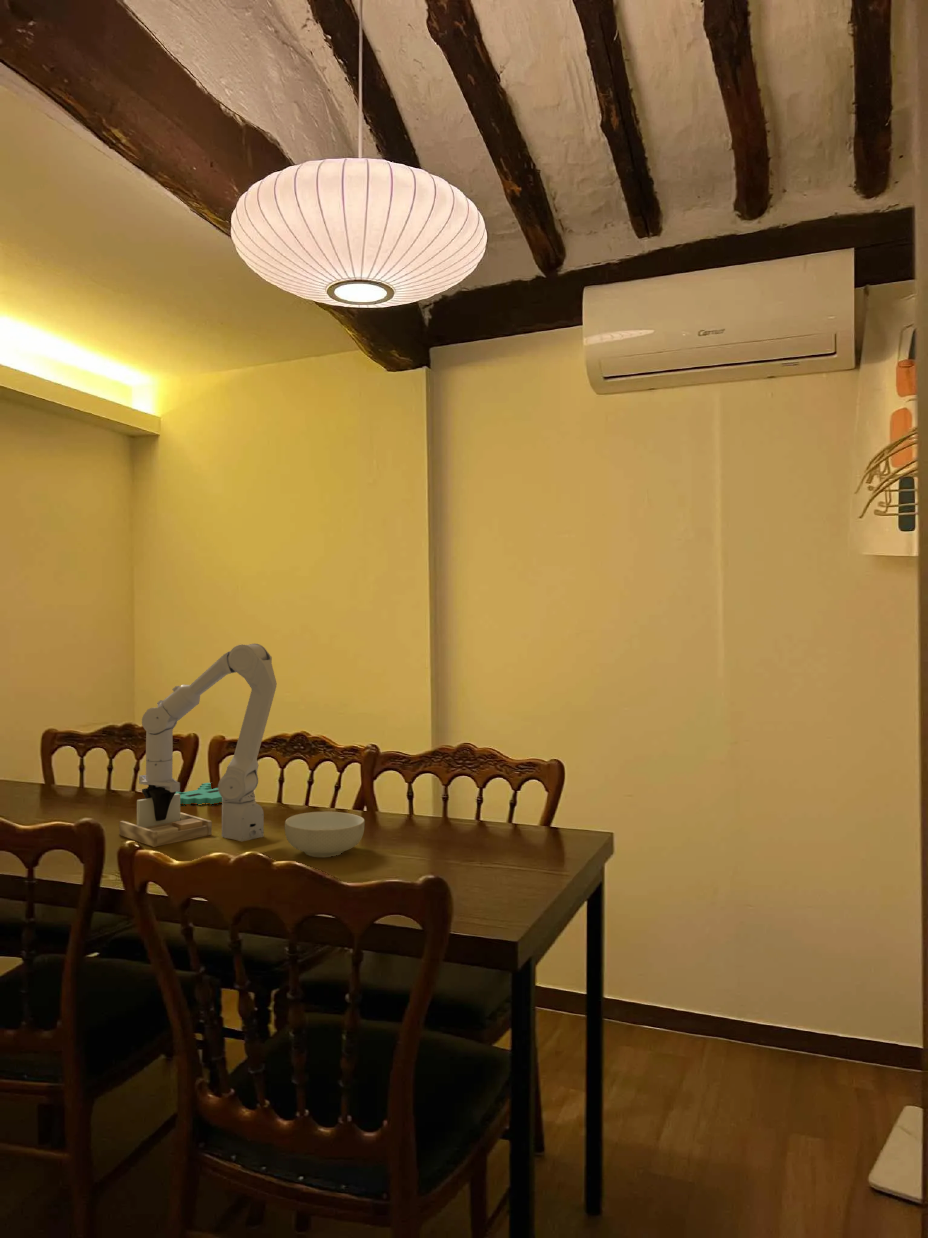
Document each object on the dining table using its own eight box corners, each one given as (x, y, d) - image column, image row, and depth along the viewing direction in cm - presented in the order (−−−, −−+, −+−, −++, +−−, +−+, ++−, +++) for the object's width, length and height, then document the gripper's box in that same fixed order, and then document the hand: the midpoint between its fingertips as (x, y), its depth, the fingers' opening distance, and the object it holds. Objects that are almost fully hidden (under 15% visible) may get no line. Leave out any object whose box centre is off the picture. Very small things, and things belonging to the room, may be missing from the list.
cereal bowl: (324, 868, 168) (325, 833, 168) (267, 855, 177) (268, 821, 177) (380, 850, 182) (380, 817, 182) (324, 838, 191) (325, 807, 191)
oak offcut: (202, 834, 190) (202, 821, 190) (181, 838, 186) (181, 825, 186) (192, 831, 192) (192, 818, 192) (171, 835, 188) (172, 822, 188)
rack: (211, 838, 190) (211, 821, 190) (153, 851, 179) (153, 832, 179) (176, 827, 200) (176, 811, 200) (119, 839, 189) (119, 821, 189)
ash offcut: (178, 839, 185) (178, 828, 185) (156, 844, 181) (156, 832, 181) (168, 836, 188) (168, 825, 188) (146, 840, 184) (146, 829, 184)
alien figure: (146, 801, 231) (189, 811, 219) (146, 793, 231) (190, 803, 219) (207, 790, 247) (251, 799, 235) (208, 782, 247) (251, 791, 235)
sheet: (180, 828, 195) (180, 794, 195) (139, 836, 187) (139, 801, 187) (177, 827, 196) (177, 793, 196) (136, 836, 188) (136, 800, 188)
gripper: (126, 758, 193) (126, 817, 193) (159, 765, 184) (159, 827, 184) (155, 754, 199) (154, 812, 199) (188, 761, 189) (188, 822, 189)
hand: (158, 819), depth 191 cm, fingers closed on sheet
